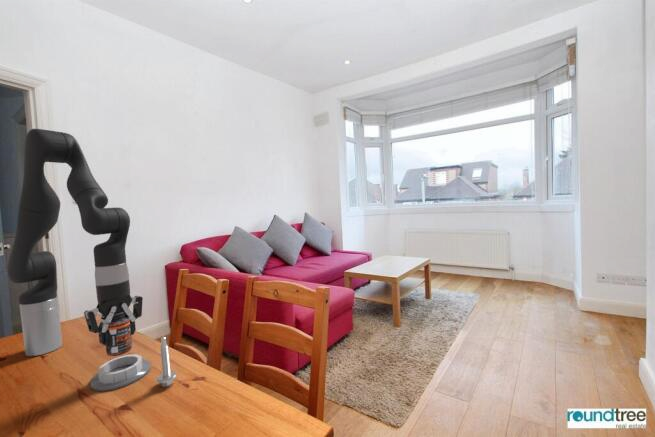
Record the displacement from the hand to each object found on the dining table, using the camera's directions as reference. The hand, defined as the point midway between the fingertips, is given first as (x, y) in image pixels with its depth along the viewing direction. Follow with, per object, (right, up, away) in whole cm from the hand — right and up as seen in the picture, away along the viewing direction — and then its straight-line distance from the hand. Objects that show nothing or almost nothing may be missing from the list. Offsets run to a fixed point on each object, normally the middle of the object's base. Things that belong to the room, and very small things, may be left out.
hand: (118, 339), depth 84 cm
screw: (+16, -10, -4) cm, 19 cm away
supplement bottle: (0, -4, 0) cm, 4 cm away
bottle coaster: (0, -10, +1) cm, 10 cm away
